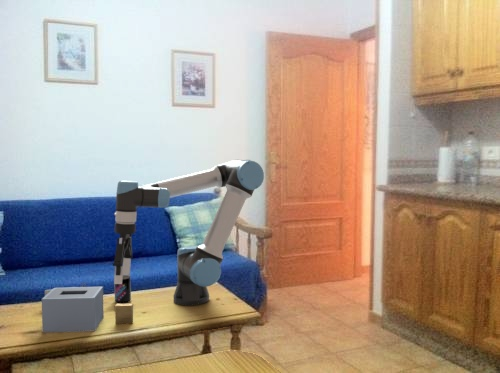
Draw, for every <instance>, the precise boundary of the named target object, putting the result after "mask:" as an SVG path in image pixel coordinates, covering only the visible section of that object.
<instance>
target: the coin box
mask: <svg viewBox="0 0 500 373" xmlns="http://www.w3.org/2000/svg"><path fill="white" fill-rule="evenodd" d="M50 290H51V289H50ZM104 311H105V310H104V286H85V287H82V286H72V287H71V286H69V287H54V288H52V290H51V291H50V292H49V293H48V294H47V295H46V296H45V295H44V297H42V298H41V322H42V323H41V324H42V325H41V326H42V328H41V329H42V333H70V332H72V333H73V332H95V331H96V330H97V329H98V327H99V325H100V324H101V322H102V320H103V319H104V318H105V317H104V314H105V313H104Z"/></svg>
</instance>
